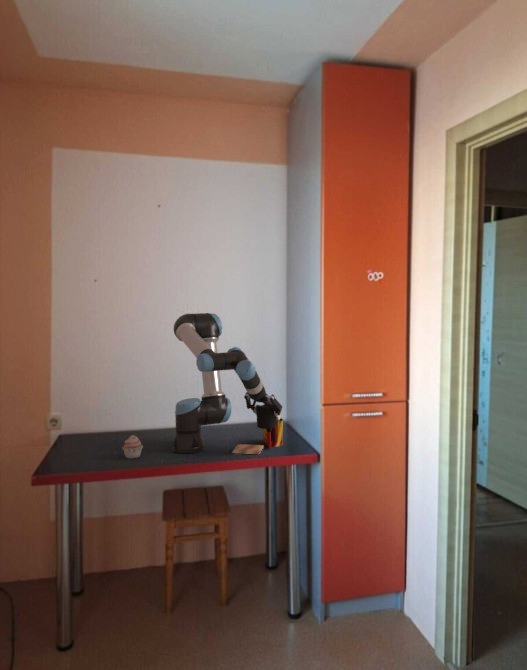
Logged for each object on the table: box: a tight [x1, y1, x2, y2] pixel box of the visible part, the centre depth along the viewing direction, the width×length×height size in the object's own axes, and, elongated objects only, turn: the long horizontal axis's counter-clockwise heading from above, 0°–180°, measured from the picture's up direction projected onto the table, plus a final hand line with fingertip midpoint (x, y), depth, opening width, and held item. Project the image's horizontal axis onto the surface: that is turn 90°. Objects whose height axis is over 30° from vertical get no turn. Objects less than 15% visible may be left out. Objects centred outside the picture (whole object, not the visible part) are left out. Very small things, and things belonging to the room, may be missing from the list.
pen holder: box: [255, 403, 277, 430], centre depth 230 cm, size 9×9×10 cm
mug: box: [262, 417, 284, 448], centre depth 242 cm, size 10×14×12 cm
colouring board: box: [231, 443, 265, 456], centre depth 233 cm, size 12×12×1 cm
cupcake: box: [121, 434, 144, 460], centre depth 225 cm, size 9×9×10 cm
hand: (269, 416), depth 233 cm, fingers closed on pen holder, 9 cm apart
